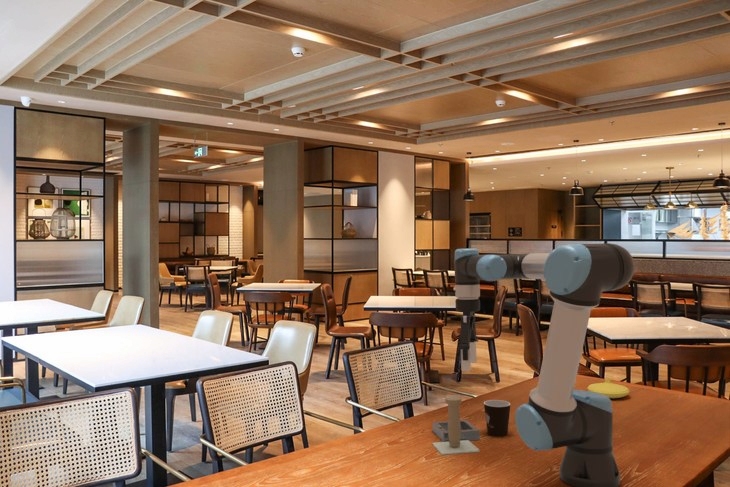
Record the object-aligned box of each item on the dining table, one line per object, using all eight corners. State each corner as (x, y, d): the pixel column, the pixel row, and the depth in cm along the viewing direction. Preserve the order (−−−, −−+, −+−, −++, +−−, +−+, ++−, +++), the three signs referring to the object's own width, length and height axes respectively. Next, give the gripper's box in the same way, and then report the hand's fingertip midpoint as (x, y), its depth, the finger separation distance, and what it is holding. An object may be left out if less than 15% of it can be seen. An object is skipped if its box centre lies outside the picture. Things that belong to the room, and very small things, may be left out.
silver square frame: (479, 439, 198) (479, 429, 198) (443, 442, 195) (443, 432, 195) (466, 428, 209) (466, 418, 209) (432, 431, 207) (432, 421, 207)
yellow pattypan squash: (632, 394, 251) (632, 377, 251) (625, 403, 238) (625, 385, 238) (592, 389, 259) (591, 373, 259) (583, 398, 246) (583, 380, 246)
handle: (448, 449, 188) (446, 400, 187) (445, 442, 194) (444, 395, 194) (463, 449, 187) (462, 400, 187) (461, 442, 194) (460, 394, 194)
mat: (479, 451, 186) (479, 450, 186) (441, 455, 184) (441, 453, 184) (468, 441, 196) (468, 440, 196) (432, 444, 194) (432, 442, 194)
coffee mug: (511, 438, 198) (510, 407, 198) (484, 437, 200) (483, 406, 200) (510, 427, 210) (509, 398, 210) (484, 426, 212) (484, 397, 211)
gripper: (461, 295, 205) (462, 359, 205) (448, 301, 181) (450, 374, 181) (484, 295, 203) (485, 359, 203) (474, 301, 179) (476, 375, 179)
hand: (469, 366), depth 192 cm, fingers open, 13 cm apart
